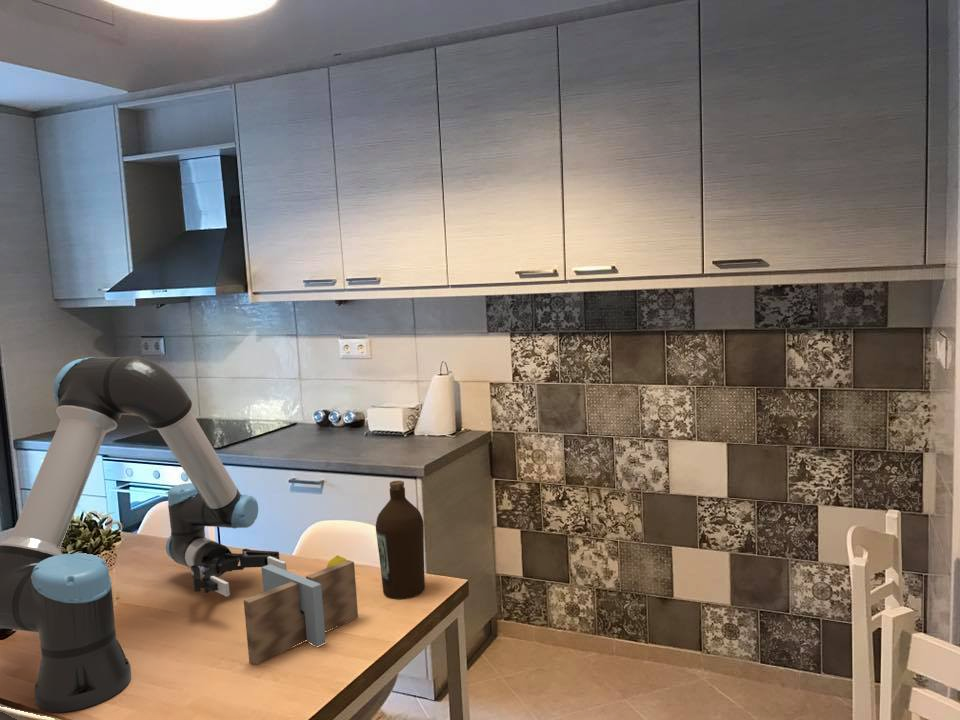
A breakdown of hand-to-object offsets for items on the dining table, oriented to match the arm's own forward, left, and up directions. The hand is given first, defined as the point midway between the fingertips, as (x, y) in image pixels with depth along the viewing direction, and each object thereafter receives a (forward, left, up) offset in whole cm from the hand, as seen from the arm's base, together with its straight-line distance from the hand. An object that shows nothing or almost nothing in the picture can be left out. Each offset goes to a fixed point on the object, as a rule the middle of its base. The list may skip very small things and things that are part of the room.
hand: (257, 579), depth 157 cm
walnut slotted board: (-7, -16, -8) cm, 19 cm away
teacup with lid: (+28, +69, -8) cm, 75 cm away
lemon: (+16, -11, -8) cm, 21 cm away
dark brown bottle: (+18, -26, -8) cm, 32 cm away
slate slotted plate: (-6, -12, -8) cm, 15 cm away
